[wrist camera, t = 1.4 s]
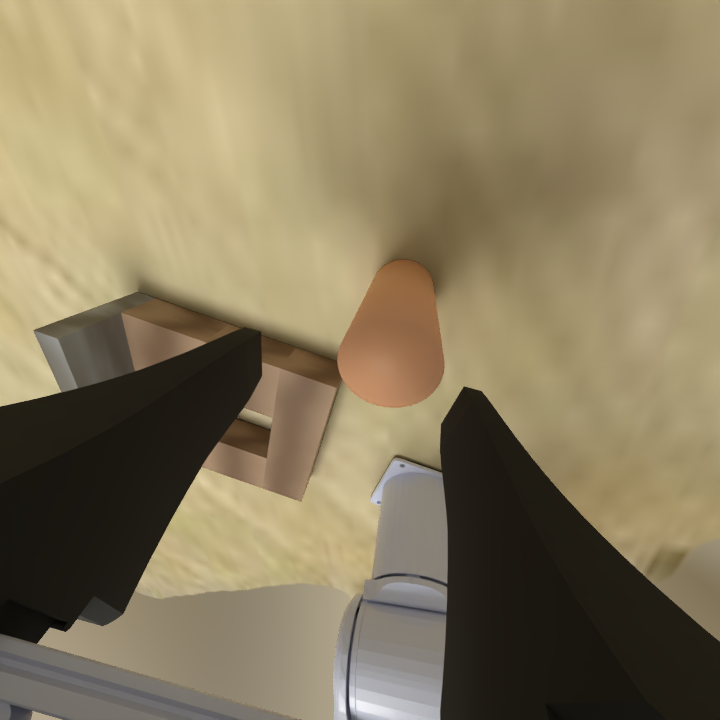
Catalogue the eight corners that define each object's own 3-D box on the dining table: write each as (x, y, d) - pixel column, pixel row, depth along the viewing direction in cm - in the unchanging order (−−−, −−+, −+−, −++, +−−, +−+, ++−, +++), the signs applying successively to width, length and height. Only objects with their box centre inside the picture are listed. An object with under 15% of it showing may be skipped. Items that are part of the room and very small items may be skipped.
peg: (444, 272, 17) (464, 340, 9) (418, 327, 19) (418, 419, 11) (382, 250, 17) (352, 301, 9) (364, 308, 19) (327, 388, 11)
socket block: (346, 365, 22) (319, 430, 16) (310, 476, 30) (285, 544, 25) (137, 292, 22) (33, 330, 16) (162, 424, 30) (101, 480, 25)
